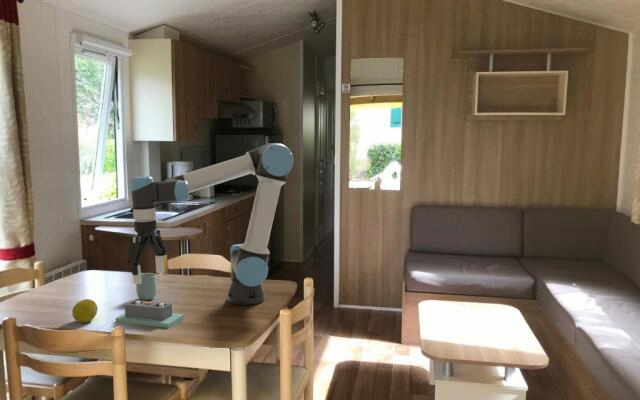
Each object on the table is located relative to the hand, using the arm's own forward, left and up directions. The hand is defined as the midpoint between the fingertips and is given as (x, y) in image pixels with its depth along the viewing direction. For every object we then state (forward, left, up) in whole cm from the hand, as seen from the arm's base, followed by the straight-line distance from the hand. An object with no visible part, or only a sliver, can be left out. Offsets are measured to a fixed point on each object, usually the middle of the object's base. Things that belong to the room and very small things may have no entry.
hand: (149, 278), depth 187 cm
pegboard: (0, 0, -16) cm, 16 cm away
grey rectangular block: (+1, 0, -14) cm, 14 cm away
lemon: (+22, +7, -16) cm, 28 cm away
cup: (+16, -21, -16) cm, 31 cm away
